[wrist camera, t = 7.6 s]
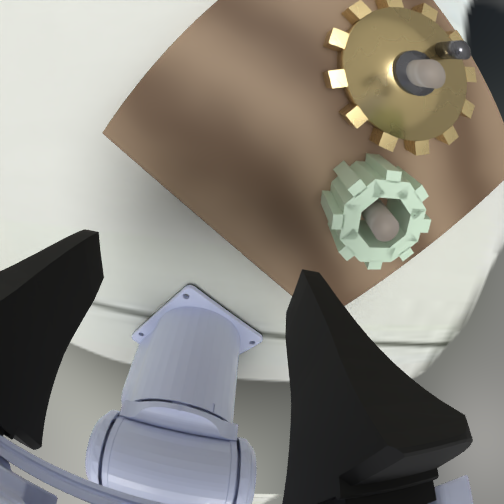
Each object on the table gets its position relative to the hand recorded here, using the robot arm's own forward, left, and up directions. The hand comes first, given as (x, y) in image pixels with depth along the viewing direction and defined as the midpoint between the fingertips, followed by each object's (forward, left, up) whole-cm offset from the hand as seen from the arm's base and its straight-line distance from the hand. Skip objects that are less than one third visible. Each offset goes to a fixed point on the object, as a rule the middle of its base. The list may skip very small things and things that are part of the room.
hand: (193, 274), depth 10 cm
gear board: (+8, -2, -9) cm, 12 cm away
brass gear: (+12, -1, -8) cm, 15 cm away
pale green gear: (+6, -6, -8) cm, 12 cm away
